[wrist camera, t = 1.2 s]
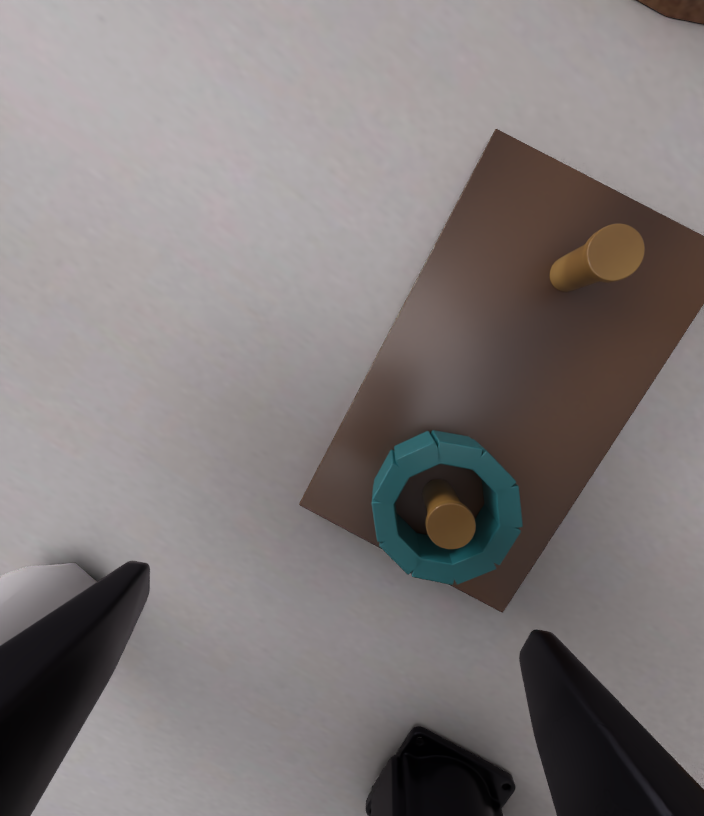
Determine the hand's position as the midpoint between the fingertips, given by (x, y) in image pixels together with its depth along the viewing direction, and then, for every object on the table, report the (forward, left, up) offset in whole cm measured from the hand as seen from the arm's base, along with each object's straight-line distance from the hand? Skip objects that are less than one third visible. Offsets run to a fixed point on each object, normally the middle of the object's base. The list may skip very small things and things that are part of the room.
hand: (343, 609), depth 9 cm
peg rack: (-4, -7, -12) cm, 14 cm away
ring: (-4, -1, -11) cm, 12 cm away
